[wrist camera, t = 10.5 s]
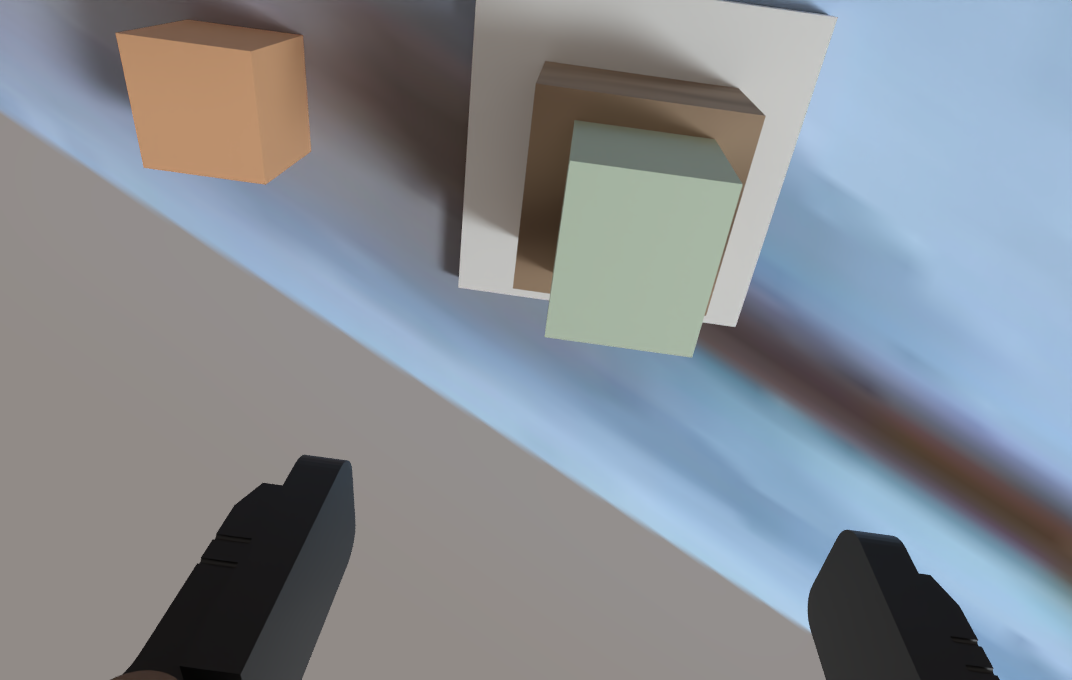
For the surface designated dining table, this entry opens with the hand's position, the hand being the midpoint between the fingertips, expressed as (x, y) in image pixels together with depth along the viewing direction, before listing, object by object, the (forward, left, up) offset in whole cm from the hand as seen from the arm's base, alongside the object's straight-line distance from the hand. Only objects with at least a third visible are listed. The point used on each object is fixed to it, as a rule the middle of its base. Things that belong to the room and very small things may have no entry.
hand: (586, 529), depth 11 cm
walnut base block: (0, +1, -21) cm, 21 cm away
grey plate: (0, +1, -22) cm, 22 cm away
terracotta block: (-1, -16, -22) cm, 27 cm away
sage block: (0, +1, -16) cm, 16 cm away
